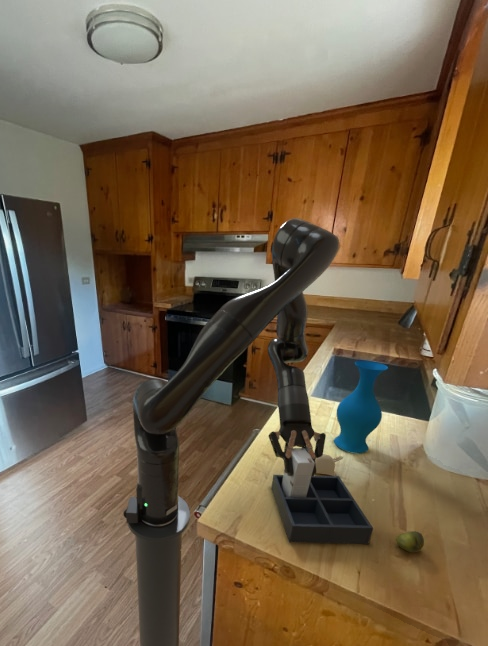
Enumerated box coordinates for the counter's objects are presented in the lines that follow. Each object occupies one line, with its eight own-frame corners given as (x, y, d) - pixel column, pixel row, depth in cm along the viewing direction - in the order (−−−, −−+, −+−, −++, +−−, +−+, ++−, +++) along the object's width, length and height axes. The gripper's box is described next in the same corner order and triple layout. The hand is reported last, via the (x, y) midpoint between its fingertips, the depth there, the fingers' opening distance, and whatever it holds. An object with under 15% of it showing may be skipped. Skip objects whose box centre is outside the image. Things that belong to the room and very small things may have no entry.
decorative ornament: (308, 464, 97) (311, 449, 95) (338, 469, 95) (342, 454, 93) (309, 473, 93) (313, 457, 91) (341, 478, 92) (345, 462, 90)
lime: (391, 547, 70) (397, 529, 68) (400, 536, 73) (407, 519, 71) (414, 562, 67) (421, 543, 65) (423, 550, 70) (430, 532, 68)
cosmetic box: (280, 487, 85) (286, 447, 80) (297, 486, 85) (304, 446, 80) (288, 504, 79) (296, 462, 74) (306, 503, 79) (315, 462, 75)
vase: (375, 460, 100) (400, 374, 89) (331, 451, 104) (350, 368, 93) (368, 440, 111) (390, 361, 100) (328, 433, 114) (345, 356, 104)
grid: (289, 542, 71) (292, 526, 69) (271, 488, 87) (273, 474, 85) (368, 544, 71) (373, 528, 69) (335, 490, 87) (339, 476, 85)
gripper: (269, 401, 80) (274, 472, 74) (327, 402, 80) (338, 474, 74) (262, 410, 87) (266, 476, 81) (316, 412, 87) (324, 478, 81)
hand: (300, 475), depth 77 cm, fingers closed on cosmetic box, 4 cm apart
